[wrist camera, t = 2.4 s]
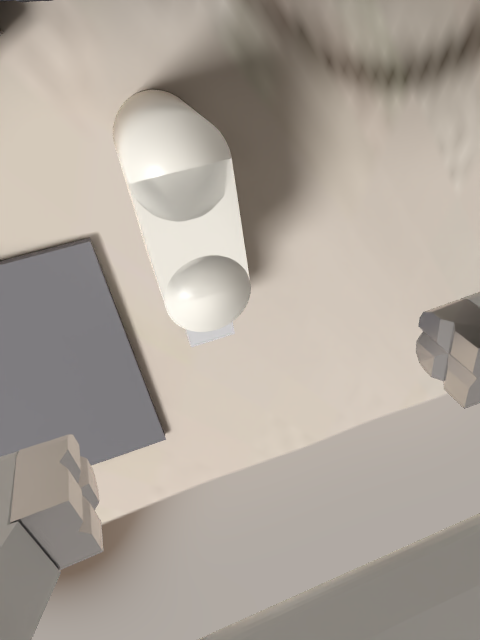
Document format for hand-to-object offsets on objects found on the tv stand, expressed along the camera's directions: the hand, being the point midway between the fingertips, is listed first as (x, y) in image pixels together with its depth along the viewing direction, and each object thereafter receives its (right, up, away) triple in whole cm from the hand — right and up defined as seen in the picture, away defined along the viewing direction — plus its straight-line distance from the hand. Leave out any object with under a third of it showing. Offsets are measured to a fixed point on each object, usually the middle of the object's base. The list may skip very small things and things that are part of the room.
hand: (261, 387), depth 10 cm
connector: (-3, +6, +11) cm, 13 cm away
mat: (-12, -2, +13) cm, 18 cm away
